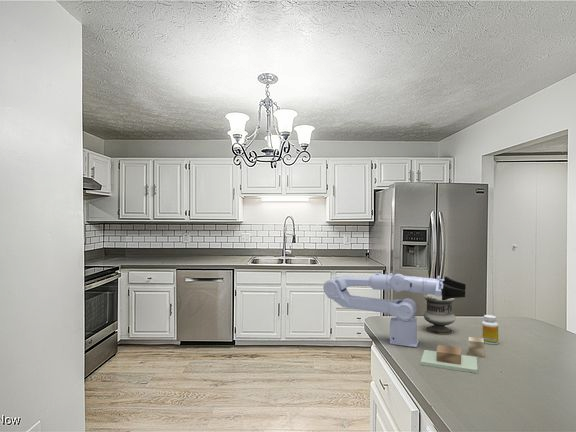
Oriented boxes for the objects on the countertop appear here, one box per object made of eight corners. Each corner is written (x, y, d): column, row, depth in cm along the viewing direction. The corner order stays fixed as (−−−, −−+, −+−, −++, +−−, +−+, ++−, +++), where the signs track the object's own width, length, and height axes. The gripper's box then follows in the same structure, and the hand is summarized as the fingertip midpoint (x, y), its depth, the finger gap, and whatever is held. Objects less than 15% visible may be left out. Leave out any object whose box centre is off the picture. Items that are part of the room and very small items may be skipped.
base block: (436, 361, 120) (436, 351, 120) (438, 354, 126) (438, 345, 126) (461, 364, 117) (460, 354, 117) (461, 357, 123) (461, 347, 123)
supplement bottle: (500, 345, 138) (500, 318, 138) (484, 344, 139) (484, 317, 140) (495, 340, 144) (495, 314, 144) (480, 339, 145) (480, 314, 145)
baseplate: (420, 364, 120) (420, 361, 120) (424, 352, 130) (424, 349, 130) (477, 373, 113) (477, 370, 113) (476, 359, 124) (476, 356, 124)
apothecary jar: (420, 332, 154) (420, 287, 155) (427, 325, 165) (427, 283, 165) (452, 337, 148) (452, 290, 148) (457, 329, 158) (457, 285, 158)
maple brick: (468, 355, 128) (468, 340, 128) (468, 351, 132) (468, 336, 132) (483, 357, 126) (483, 342, 126) (483, 353, 130) (483, 338, 130)
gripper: (422, 280, 131) (465, 285, 125) (426, 269, 144) (466, 273, 138) (421, 300, 132) (464, 305, 126) (425, 287, 145) (465, 292, 139)
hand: (465, 290), depth 132 cm, fingers open, 7 cm apart
